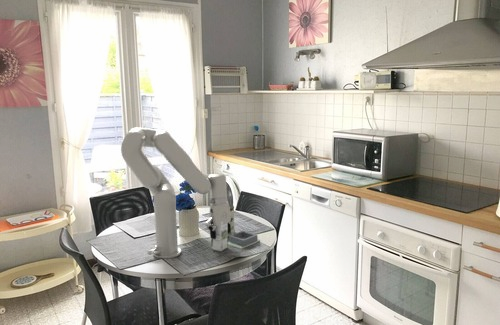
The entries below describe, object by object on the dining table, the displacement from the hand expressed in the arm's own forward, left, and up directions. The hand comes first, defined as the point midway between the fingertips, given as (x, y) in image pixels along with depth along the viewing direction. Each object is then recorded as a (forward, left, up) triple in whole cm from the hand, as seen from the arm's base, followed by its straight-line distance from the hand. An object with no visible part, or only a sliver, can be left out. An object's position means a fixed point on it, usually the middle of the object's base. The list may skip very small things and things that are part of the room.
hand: (220, 235), depth 195 cm
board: (+12, -3, -7) cm, 14 cm away
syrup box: (-1, 0, -7) cm, 7 cm away
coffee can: (+16, +14, -7) cm, 23 cm away
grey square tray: (+12, -3, -7) cm, 14 cm away
